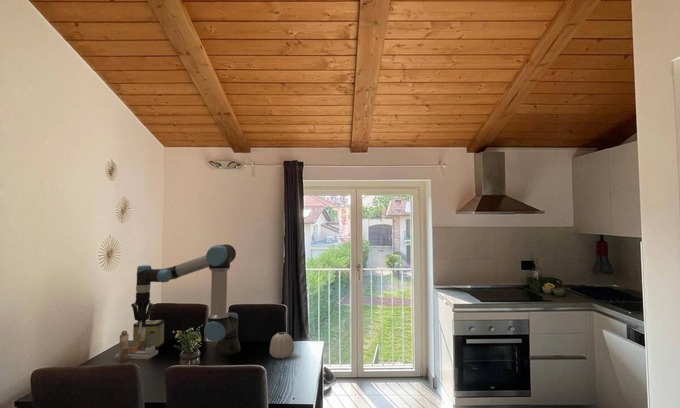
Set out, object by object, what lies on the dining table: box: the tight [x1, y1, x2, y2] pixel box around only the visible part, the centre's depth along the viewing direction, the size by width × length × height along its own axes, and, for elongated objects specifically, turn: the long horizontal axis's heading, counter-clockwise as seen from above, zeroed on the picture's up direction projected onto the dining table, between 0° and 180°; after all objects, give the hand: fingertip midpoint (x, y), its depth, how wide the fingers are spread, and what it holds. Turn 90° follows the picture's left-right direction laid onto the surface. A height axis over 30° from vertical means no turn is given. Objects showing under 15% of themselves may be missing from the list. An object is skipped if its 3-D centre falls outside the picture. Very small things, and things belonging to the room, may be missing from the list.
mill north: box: [118, 330, 130, 363], centre depth 219 cm, size 4×4×16 cm
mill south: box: [137, 327, 145, 350], centre depth 235 cm, size 4×4×16 cm
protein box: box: [132, 319, 165, 350], centre depth 245 cm, size 10×16×16 cm
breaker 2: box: [145, 345, 156, 353], centre depth 226 cm, size 3×5×4 cm, turn 175°
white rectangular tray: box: [114, 349, 159, 360], centre depth 226 cm, size 20×10×3 cm, turn 85°
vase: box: [269, 331, 295, 360], centre depth 224 cm, size 14×14×13 cm
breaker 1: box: [128, 343, 138, 353], centre depth 227 cm, size 3×5×4 cm, turn 175°
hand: (141, 332), depth 227 cm, fingers closed
